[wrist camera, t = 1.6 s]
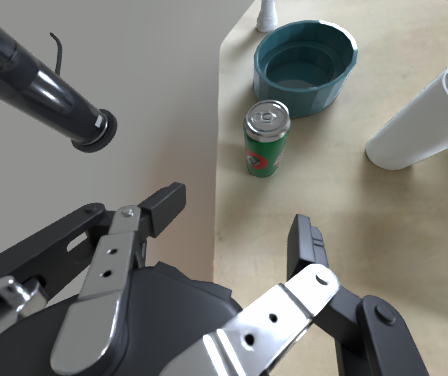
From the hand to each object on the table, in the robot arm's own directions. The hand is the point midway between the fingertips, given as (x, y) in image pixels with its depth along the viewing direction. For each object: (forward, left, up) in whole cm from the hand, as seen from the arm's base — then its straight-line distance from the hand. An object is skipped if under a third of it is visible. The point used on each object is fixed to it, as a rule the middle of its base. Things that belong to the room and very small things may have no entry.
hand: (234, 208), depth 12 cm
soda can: (-4, +10, -15) cm, 19 cm away
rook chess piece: (-22, +39, -15) cm, 47 cm away
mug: (+12, +23, -15) cm, 30 cm away
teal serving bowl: (-8, +27, -15) cm, 32 cm away
